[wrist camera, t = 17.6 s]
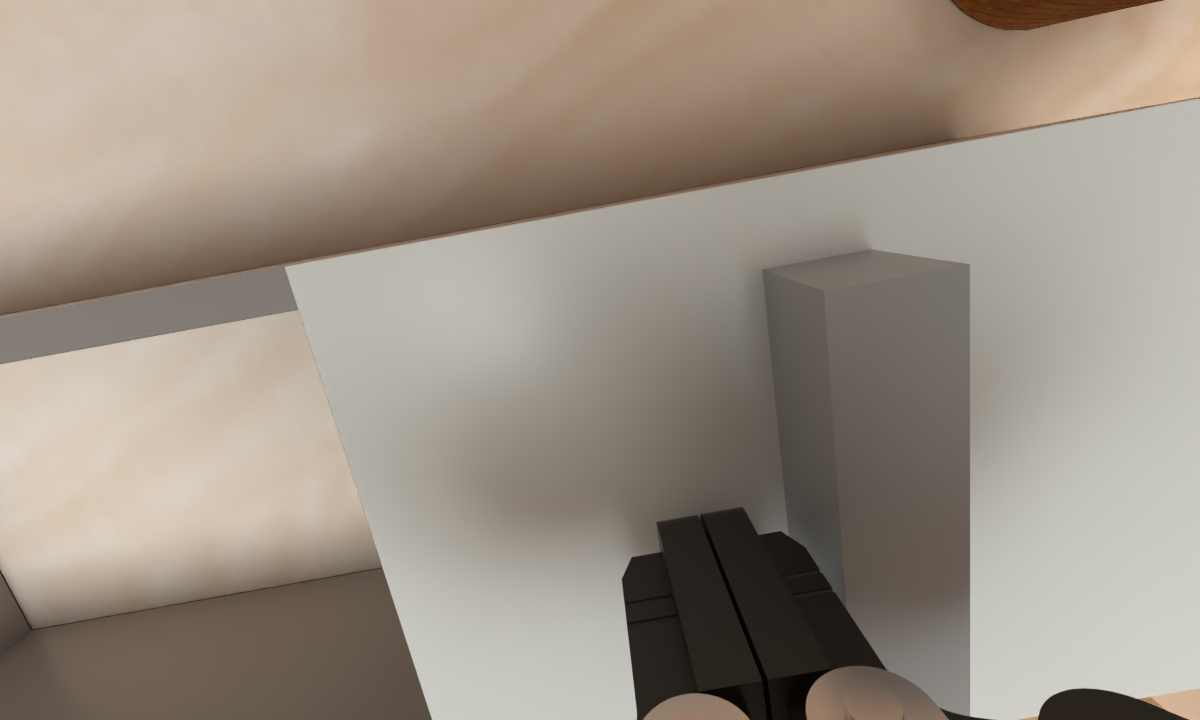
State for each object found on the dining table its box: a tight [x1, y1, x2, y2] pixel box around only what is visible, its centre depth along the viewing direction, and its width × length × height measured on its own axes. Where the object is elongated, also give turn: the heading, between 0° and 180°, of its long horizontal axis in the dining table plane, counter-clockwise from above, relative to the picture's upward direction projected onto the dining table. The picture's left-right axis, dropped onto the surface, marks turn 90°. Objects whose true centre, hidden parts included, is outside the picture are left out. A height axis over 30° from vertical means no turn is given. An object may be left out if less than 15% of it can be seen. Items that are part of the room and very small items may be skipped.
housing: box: [0, 97, 1200, 720], centre depth 15 cm, size 12×35×8 cm, turn 100°
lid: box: [285, 98, 1200, 720], centre depth 10 cm, size 12×17×3 cm
